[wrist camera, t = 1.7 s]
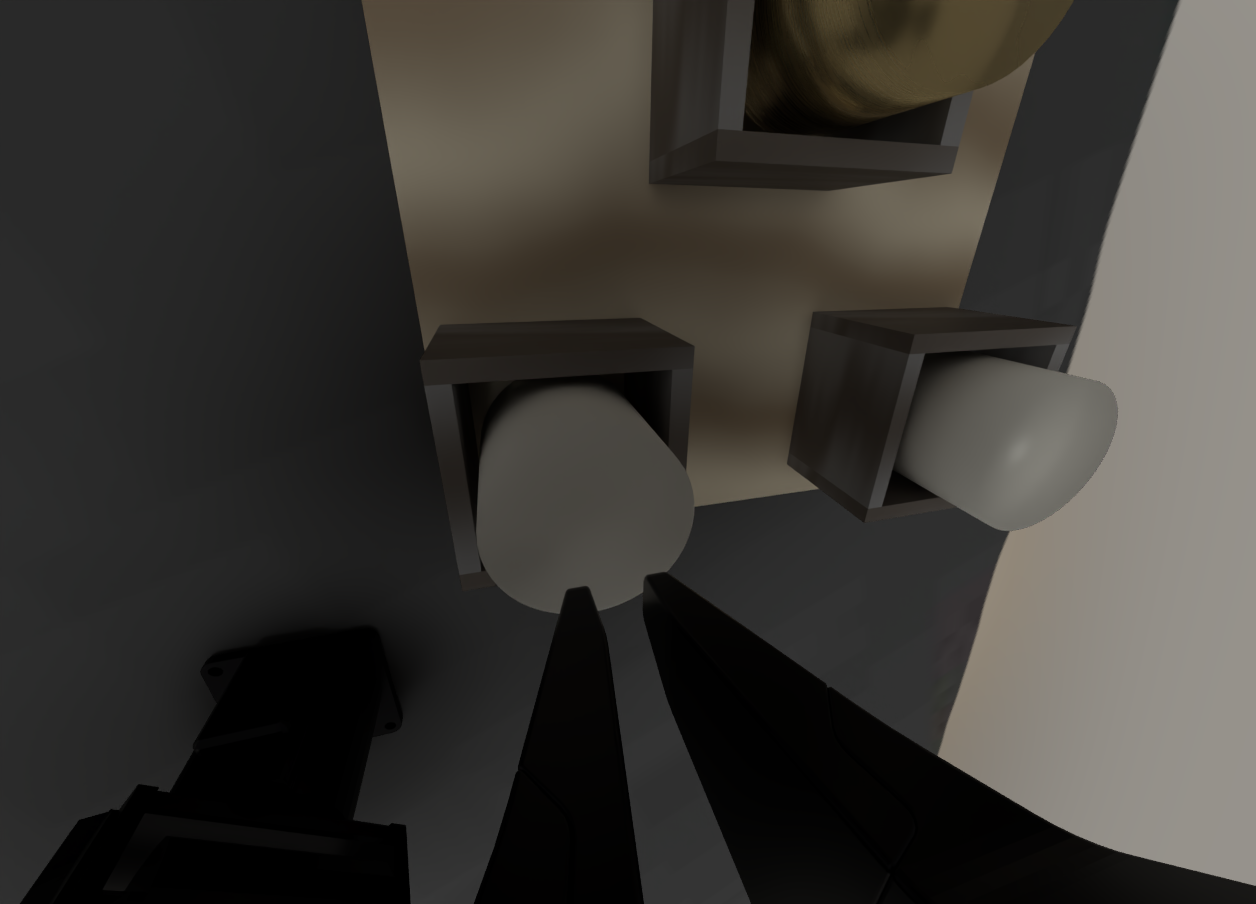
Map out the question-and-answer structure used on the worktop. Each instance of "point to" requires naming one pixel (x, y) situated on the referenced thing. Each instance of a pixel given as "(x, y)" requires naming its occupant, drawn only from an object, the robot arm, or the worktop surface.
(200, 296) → the worktop surface
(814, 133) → the brass dial
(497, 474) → the knob front
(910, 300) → the mount
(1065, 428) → the knob back
